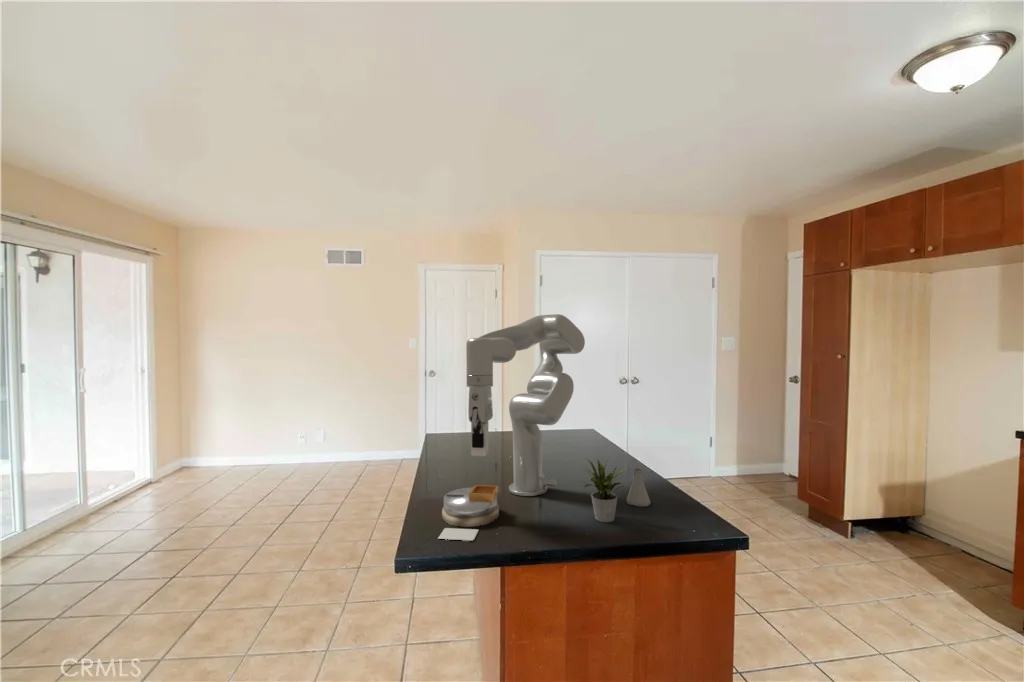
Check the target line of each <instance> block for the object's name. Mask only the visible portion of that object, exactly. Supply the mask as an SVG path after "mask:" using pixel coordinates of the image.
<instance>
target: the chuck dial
mask: <svg viewBox="0 0 1024 682" xmlns="http://www.w3.org/2000/svg"><path fill="white" fill-rule="evenodd" d="M499 491H500V489H499V485H480V484H479V485H474V486H473V487H470V486H469V487H463V488H462V487H461V488H457V489H454V490H452V491H449V492H447V493H446V494H444V496H443V507H444V511H445V512H446V513H447V514H449V515H451V516H455V517H463V518H471V517H479V516H484V515H487V514H489V513H492V512H493V511H495V510H496V508H497V504H498V495H499Z"/></svg>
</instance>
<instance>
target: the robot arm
mask: <svg viewBox="0 0 1024 682" xmlns="http://www.w3.org/2000/svg"><path fill="white" fill-rule="evenodd" d="M585 343H586V342H585V336H584V334H583V332H582V331H581V330H580V329H579V328H578V327H577V326H576V324H574V322H572V320H570V319H569V318H568V317H567V316H565V315H563V314H543V315H541V314H540V315H537V316H534V317H531V318H529V319H527V320H525V321H523V322H522V321H521V323H518V324H516V325H512V326H507V327H504V328H501V329H497V330H494V331H491V332H488V333H485V334H483V335H480V336H479V337H473V338H472V337H471V338H468V339H467V341H466V345H465V347H466V348H465V349H466V387H468V388H469V389H468V408H467V410H468V412H467V413H468V421H469V422H470V423H471V426H472V447H473V448H483V447H484V433H482V432H483V422H484V423H486V422H489V421H490V420H492V418H493V416H494V415H493V393H492V387H494V364H506V363H508V362H511V361H512V360H513V359H514V358H515V356H516V353H517V351H519V352H520V351H523V350H524V351H525V350H528V349H530V348H532V347H533V346H535V345H539V351H540V363H539V364H538V367H537V368H536V370H535V371H534V373H533V374H532V375H531V377H530V379H529V380H528V383H527V385H526V386H527V387H526V392H527V393H518V394H515V395H514V396H513V397H512V398H511V399H510V401H509V406H508V412H509V417H510V421H511V422H510V423H511V429H512V458H513V459H512V460H513V463H512V465H513V466H512V467H513V470H512V471H513V472H512V473H513V482H512V483H511V484H510V485H509V486H508V491H509V492H510V493H511V494H513V495H516V496H521V497H534V496H539V495H543V494H545V493H546V492H547V491H548V486H549V487H557V480H556V479H553V478H552V477H551V478H546V477H545V473H543V436H542V432H541V429H540V427H539V426H538V425H540V426H541V425H543V426H553V425H555V424H557V423H558V422H559V421H560V419H561V418H562V416H563V414H564V412H565V410H566V409H567V407H568V405H569V402H570V401H571V399H572V396H573V395H574V394H573V393H574V390H575V389H574V388H575V385H574V380H573V379H572V377H571V376H570V375H569V374H568V373H566V372H563V370H564V369H563V365H562V362H561V360H560V358H558V355H566V354H567V355H577V354H579V353H581V352H582V351H583V350H584V348H585ZM477 421H481V422H477ZM478 424H480V426H479V425H478ZM471 426H470V427H471Z"/></svg>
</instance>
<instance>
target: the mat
mask: <svg viewBox="0 0 1024 682" xmlns="http://www.w3.org/2000/svg"><path fill="white" fill-rule="evenodd" d="M478 533H479V529H475V528H473V529H472V528H456V527H455V528H452V527H451V528H450V527H444V529H442V532H440V535H439V536H438V537H437V540H438V539H445V540H444V541H449V540H462V541H461V542H469V541H473V540H474V541H475V538H476V537H477V535H478ZM447 539H448V540H447ZM474 541H473V542H474Z"/></svg>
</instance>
